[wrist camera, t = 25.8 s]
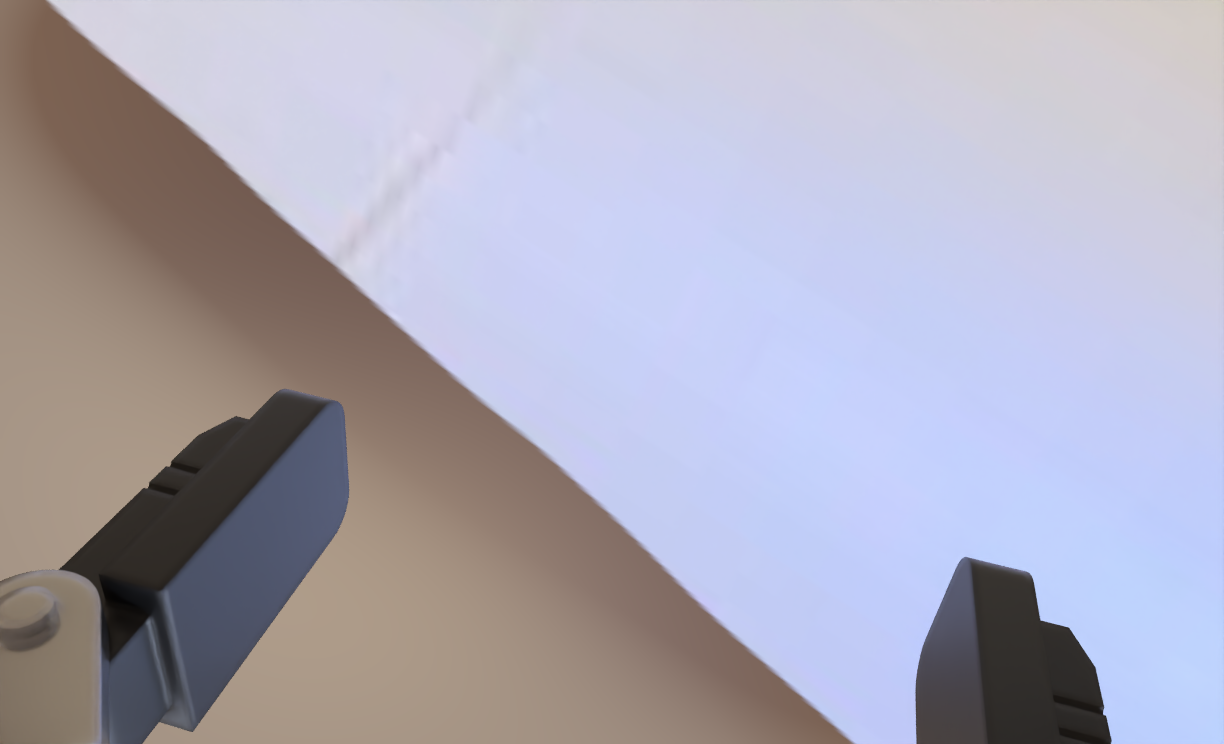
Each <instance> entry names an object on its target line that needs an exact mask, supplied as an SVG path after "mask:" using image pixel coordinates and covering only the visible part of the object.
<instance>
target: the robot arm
mask: <svg viewBox="0 0 1224 744" xmlns="http://www.w3.org/2000/svg"><path fill="white" fill-rule="evenodd" d="M348 498H349V479H348V464H347V447H346V432H345V416H344V410H343V407H342V405H341V404H340V403H339V402H337V401H334V400H330V399H326V398H322V397H318V396H314V395H310V394H306V393H302V392H297V391H293V390H289V389H282V390H280V391H278V392H276V393H275V394H274V395H273V396H272V397H271V398H270V399H269V400H268V401H267V402H266V403H265V404H264V405H263V406H262V407H261V408H260V409H259V410H258V411H257V412H256V413H255V414H254V415H253V417H251V418H250V419H245V418H241V417H237V416H236V417H234V418H231V419H230V420H227V421H226V422H224V423H222V424H220V425H218V426H216V427H214V428H212V429H210V430H208V431H206V432H204V433H202V434H200V435H198V436H197V437H196V438H195V439H194V440H193V441H192V442H191V443H190V444H189V445H188V446H187V447H186V448H185V449H183V450H182V451H181V452H180V453H179V454H178V455H177V456H176V457H175V458H174V459H173V460H172V462H171V466H170V467H165V468H164V469H163V470H162V471H161V472H160V473H159V474H158V475H157V476H156V477H155V478H154V479H152V480H151V481H150V483H149V487H148V488H147V489H145V488H143V489H142V490H141V491H140V492H139V493H138V494H137V495H136V496H135V497H134V498H133V499H132V500H131V501H130V502H129V503H128V504H127V505H126V506H125V507H124V508H122V509H121V510H120V511H119V513H117V514H116V515H115V516H114V517H113V518H112V519H111V520H110V521H109V522H108V523H107V524H106V525H105V526H104V527H103V528H102V529H101V530H100V531H99V532H98V533H97V534H96V535H95V536H94V537H93V538H91V539H90V540H89V541H88V542H87V543H86V544H85V545H84V546H83V547H82V548H81V549H80V550H79V551H78V552H77V553H76V554H75V555H74V556H73V557H72V558H71V559H70V560H69V561H68V562H67V563H66V564H65V565H64V566H62V567H61V568H60V569H59V570H39V571H31V572H26V573H22V574H18V575H15V576H12V577H9V578H7V579H4V580H2V581H0V744H142V743H143V742H144V740H145V739H146V738H147V736H148V735H149V734H150V733H151V732H152V730H153V729H154V728H155V726H156V725H157V724H158V722H161V723H164V724H168V725H171V726H174V727H177V728H181V729H184V730H187V731H191V732H193V731H194V729H195V728H196V727H197V725H198V723H200V721H201V720H202V718H203V717H204V715H205V714H206V713H207V711H208V710H209V709H210V707H211V706H212V704H213V703H214V702H215V700H216V699H217V698H218V696H219V695H220V693H221V692H222V691H223V689H224V688H225V687H226V685H227V684H228V682H229V681H230V680H231V678H232V677H233V676H234V674H235V673H236V671H237V670H238V669H239V667H240V666H241V664H242V663H243V662H244V660H245V659H246V658H247V656H248V655H249V653H250V652H251V651H252V649H253V648H254V647H255V645H256V644H257V642H258V641H259V640H260V638H261V637H262V636H263V634H264V633H265V631H266V630H267V628H268V627H269V626H270V624H271V623H272V622H273V620H274V619H275V618H276V616H277V615H278V613H279V612H280V611H281V609H282V608H283V606H284V605H285V604H286V602H287V601H288V600H289V598H290V597H291V595H292V594H293V593H294V591H295V590H296V588H297V587H298V586H299V584H300V583H301V582H302V580H303V579H304V578H305V576H306V574H307V573H308V572H309V571H310V569H311V568H312V566H313V565H314V564H315V562H316V561H317V559H318V558H319V557H320V555H321V554H322V553H323V551H324V550H325V548H326V547H327V546H328V544H329V543H330V542H331V540H332V539H333V537H334V536H335V534H336V533H337V531H338V529H339V527H340V525H341V523H342V520H343V518H344V515H345V512H346V508H347V503H348ZM1103 709H1104V705H1103V700H1102V696H1101V691H1100V686H1099V682H1098V677H1097V673H1096V668H1095V666H1094V665H1093V663H1092V662H1091V660H1090V659H1089V657H1088V656H1087V654H1086V653H1085V651H1084V650H1083V648H1082V647H1081V645H1080V644H1079V642H1078V641H1077V639H1076V638H1075V636H1074V635H1073V633H1072V632H1071V630H1070V629H1069V628H1068V627H1064V626H1060V625H1056V624H1052V623H1048V622H1044V621H1040V616H1039V610H1038V604H1037V598H1036V593H1035V587H1034V582H1033V578H1032V576H1031V575H1030V573H1028V572H1025V571H1021V570H1017V569H1013V568H1009V567H1005V566H1000V565H996V564H992V563H988V562H984V561H980V560H976V559H972V558H968V557H964V558H963V559H962V560H961V561H960V562H959V564H958V566H957V568H956V570H955V572H954V574H953V577H952V579H951V581H950V584H949V586H948V588H947V591H946V593H945V595H944V598H943V600H942V602H941V605H940V607H939V609H938V611H937V614H936V616H935V618H934V621H933V623H932V625H931V628H930V630H929V632H928V635H927V637H926V639H925V642H924V645H923V648H922V652H921V655H920V660H919V665H918V670H917V678H916V737H917V744H1111V736H1110V732H1109V727H1108V723H1107V718H1106V716H1105V715H1103Z"/></svg>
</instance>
